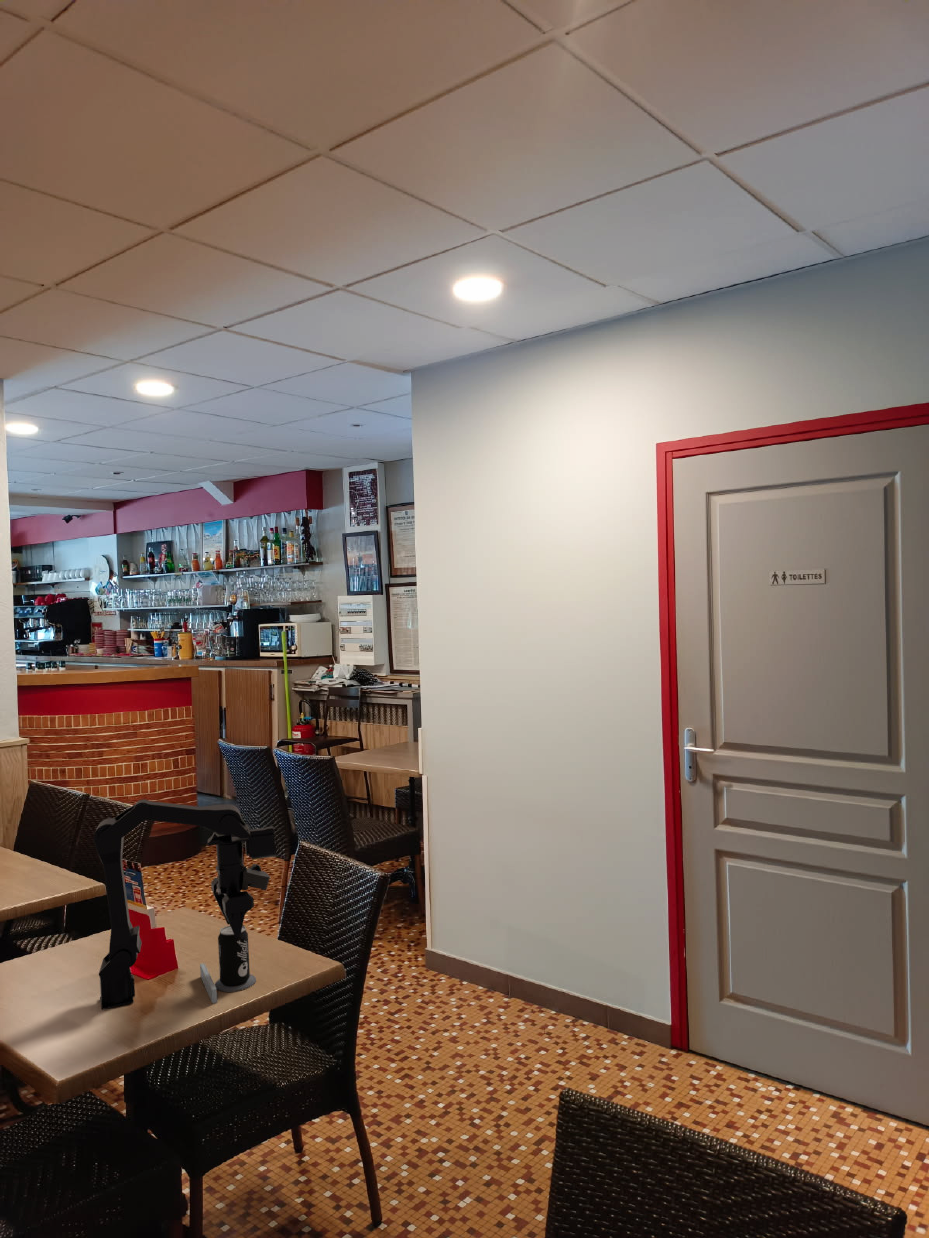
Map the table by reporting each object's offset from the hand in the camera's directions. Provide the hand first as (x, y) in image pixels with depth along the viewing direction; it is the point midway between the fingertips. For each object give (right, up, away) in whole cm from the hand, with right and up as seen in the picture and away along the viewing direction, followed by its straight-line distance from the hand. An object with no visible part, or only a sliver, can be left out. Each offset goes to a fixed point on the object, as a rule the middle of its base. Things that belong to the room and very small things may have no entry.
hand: (233, 930), depth 204 cm
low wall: (-5, -12, -2) cm, 14 cm away
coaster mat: (0, -12, 0) cm, 12 cm away
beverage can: (0, -12, 0) cm, 12 cm away
